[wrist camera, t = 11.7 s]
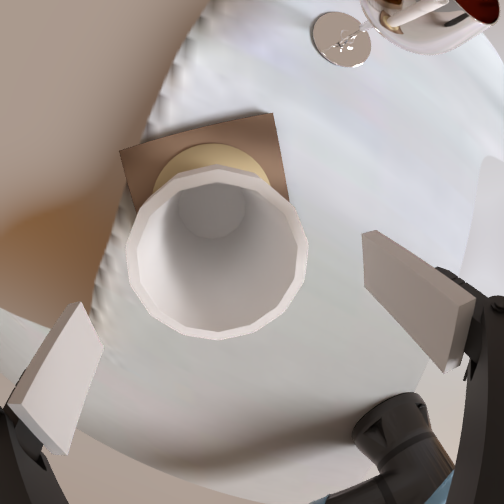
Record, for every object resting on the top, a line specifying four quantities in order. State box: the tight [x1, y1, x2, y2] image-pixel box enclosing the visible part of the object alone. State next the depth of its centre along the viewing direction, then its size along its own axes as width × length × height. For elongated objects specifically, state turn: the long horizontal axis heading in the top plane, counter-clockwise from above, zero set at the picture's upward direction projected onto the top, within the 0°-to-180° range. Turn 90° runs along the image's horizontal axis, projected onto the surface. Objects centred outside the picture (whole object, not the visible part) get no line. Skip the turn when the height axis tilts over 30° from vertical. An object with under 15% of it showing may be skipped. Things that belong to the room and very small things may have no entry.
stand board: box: [119, 113, 290, 214], centre depth 28 cm, size 14×14×2 cm
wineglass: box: [313, 0, 500, 67], centre depth 16 cm, size 8×8×18 cm
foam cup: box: [125, 164, 309, 340], centre depth 21 cm, size 10×9×13 cm
